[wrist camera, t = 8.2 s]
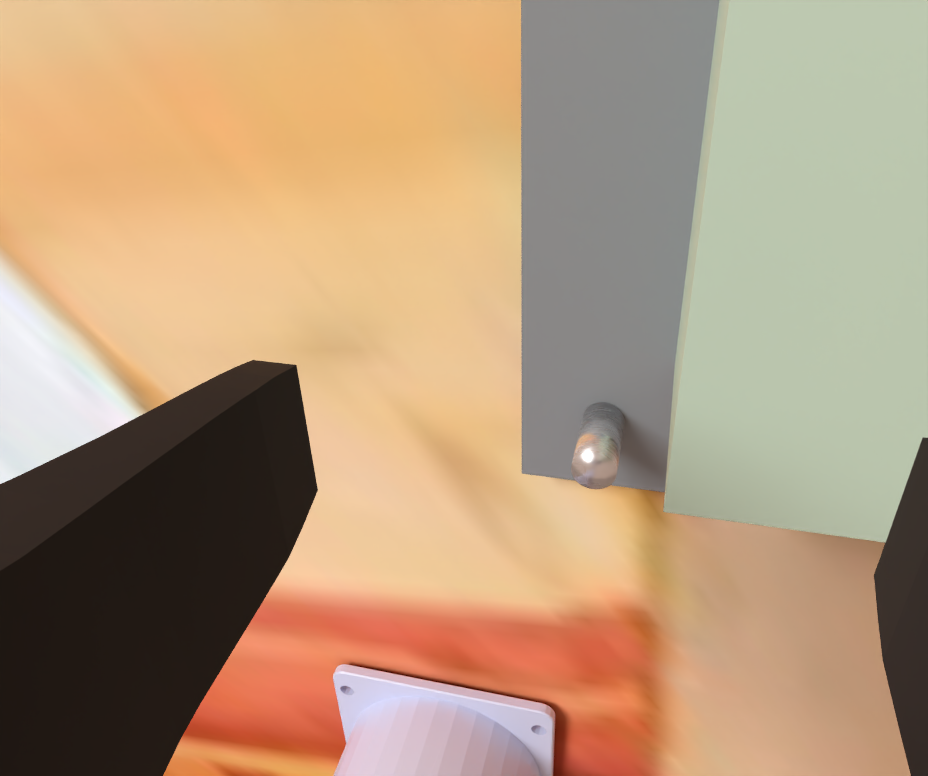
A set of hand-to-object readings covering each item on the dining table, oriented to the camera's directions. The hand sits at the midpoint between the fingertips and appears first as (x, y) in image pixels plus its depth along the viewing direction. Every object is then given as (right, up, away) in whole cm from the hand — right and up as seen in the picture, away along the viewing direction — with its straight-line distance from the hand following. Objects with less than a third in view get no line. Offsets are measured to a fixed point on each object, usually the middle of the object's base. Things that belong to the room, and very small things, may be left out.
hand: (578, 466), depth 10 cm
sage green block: (+6, +5, +5) cm, 9 cm away
